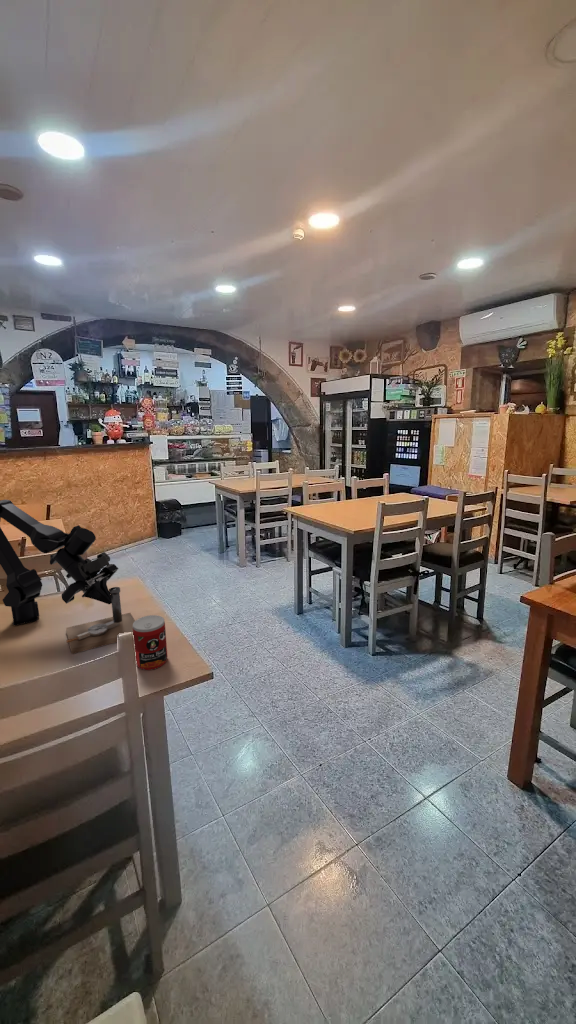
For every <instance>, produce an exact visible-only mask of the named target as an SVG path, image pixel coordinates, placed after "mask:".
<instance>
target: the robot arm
mask: <svg viewBox="0 0 576 1024" xmlns="http://www.w3.org/2000/svg"><path fill="white" fill-rule="evenodd" d="M1 519H3V520H4V521H5V522H7V523H8V524H10V525H12V526H13V527H14V528H16V529H17V530H19V531H20V532H22V533H23V534H24V535H26V536H27V537H28V538H29V539H30V542H31V544H32V546H34V547H35V548H36V549H37V550H38V551H39V552H41V553H42V554H49V553H52V552H54V551H56V552H55V553H53V554H50V555H49V557H50V559H49V565H55V564H56V563H57V564H58V565H59V566H60V567H61V568H62V569H63V570H64V572H66V573H67V574H65V577H66V578H67V579H70V578H72V580H74V581H75V582H73V583H70V584H69V585H68V586H67V587H66V589H65V590H63V592H61V600H62V601H63V602H64V603H65V604H69V603H71V602H72V601H74V600H75V595H77V594H78V593H80V592H82V593H83V594H82V595H81V597H82V598H87V599H91V600H96V601H98V602H101V603H104V604H107V605H112V603H111V594H109V588H108V585H107V583H108V581H109V580H110V579H111V578H112V577H113V576H114V575H115V573H117V571H118V570H119V567H117V565H116V564H114V563H110V561H111V557H110V556H109V554H107V553H106V551H103V552H100V553H99V554H97V555H96V559H93V560H91V559H90V558H86V559H84V557H82V556H83V555H84V554H85V553H87V551H88V550H89V549H90V547H92V545H93V543H95V541H97V539H96V538H97V537H96V535H95V533H94V532H93V531H92V530H89V529H87V528H84V527H81V525H80V524H79V525H76V526H75V525H74V526H73V527H72V529H71V530H70V532H69V533H67V532H64V531H63V530H62V529H59V528H58V527H55V526H53V525H49V524H44V523H41V522H40V521H38V520H37V519H36V518H35V517H33V516H31V515H29V514H28V513H27V512H25V511H24V510H23V509H21V508H19V507H18V506H17V505H15V504H14V503H13V501H11V500H10V499H1V500H0V521H1ZM0 566H1V568H2V570H3V571H4V572H5V575H6V588H7V591H8V592H7V593H6V595H5V596H4V597H3V598H2V603H3V604H4V606H5V607H9V608H10V610H11V614H12V615H11V616H12V626H13V625H15V626H20V625H23V624H28V623H33V622H37V621H39V617H40V610H39V603H38V601H36V600H35V599H36V598H39V597H40V596H41V590H42V589H43V581H42V578H41V577H40V576H39V575H38V572H37V570H36V569H35V568H32V569H28V568H27V567H25V566H24V564H23V562H22V561H21V559H20V557H19V556H18V554H17V553H16V551H15V549H14V547H13V545H12V544H11V542H10V540H9V539H8V538H7V535H6V534H5V532H4V531H3V529H2V528H1V526H0Z"/></svg>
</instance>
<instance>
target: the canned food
mask: <svg viewBox="0 0 576 1024" xmlns="http://www.w3.org/2000/svg"><path fill="white" fill-rule="evenodd" d="M166 633H167V632H166V621H165V618H164V617H163V616H162V615H161V616H160V615H157V614H154V615H153V614H152V615H151V614H150V615H144V616H142V617H139V618H138V619H135V622H134V623H133V635H134V638H133V643H134V644H135V646H134V652H136V656H135V662H136V661H137V663H136V665H137V667H138V668H139V669H140V668H141V669H140V670H143V669H145V670H144V671H152V670H151V669H153V670H156V669H159V668H161V667H162V666H164V665H165V664H166V663H167V660H168V644H167V643H168V642H167V634H166ZM158 667H159V668H158ZM155 668H156V669H155Z"/></svg>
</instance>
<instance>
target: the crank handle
mask: <svg viewBox="0 0 576 1024" xmlns="http://www.w3.org/2000/svg"><path fill="white" fill-rule="evenodd" d="M108 590H109V594H110V595H111V610H112V617H113V621H111V622H108V623H106V624H96V625H93V626H91V627H89V628H88V632H85V633H82V634H80V635H77V639H78V640H80V639H83V638H85V637H88V636H99V635H102V634H104V633H106V632H107V631H108V629H110V628H113V627H115V626H118V625H120V624H119V622H121V621H122V613H123V612H122V604H121V596H120V594H121V587H118V586H113V587H110V588H108Z"/></svg>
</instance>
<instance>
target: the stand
mask: <svg viewBox="0 0 576 1024" xmlns="http://www.w3.org/2000/svg"><path fill="white" fill-rule="evenodd" d="M111 621H113V616H109V617H107V618H103V619H102V618H101V619H97V620H94V621H89V622H85V623H80V624H76V625H73V626H68V627H65V630H66V631H65V632H66V637H67V639H66V641H65V642H66V643H67V644H69V649H70V654H71V655H74V654H78V653H81V652H85V651H88V650H93V649H96V648H100V647H103V646H107V645H111V644H114V643H118V642H117V635H118V634H119V633H124V632H133V623H134V622H135V621H136V619H135V618H134V616H133V615H132V612H127V613H123V614H122V621H121V622H119V624H120V625H118V626H115V627H113V628H110V629H108V631H107V632H106V633H104V634H102V635H99V636H88V637H85V638H83V639H80V640H78V639H77V635H80V634H82V633H85V632H88V628H89V627H91V626H93V625H96V624H106V623H108V622H111Z"/></svg>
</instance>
